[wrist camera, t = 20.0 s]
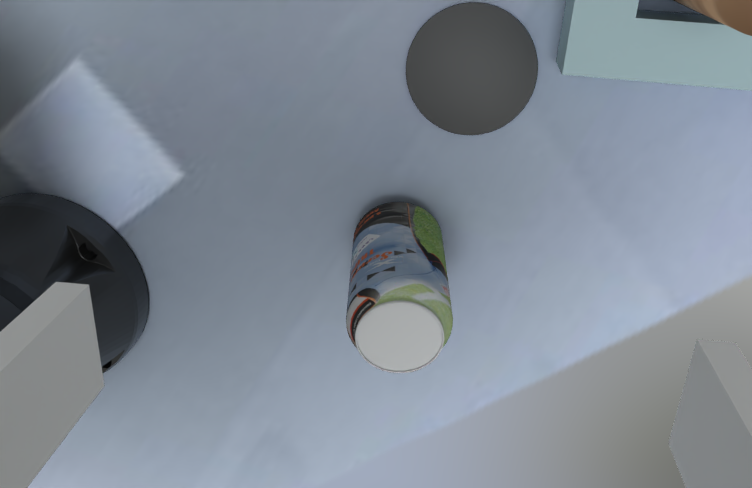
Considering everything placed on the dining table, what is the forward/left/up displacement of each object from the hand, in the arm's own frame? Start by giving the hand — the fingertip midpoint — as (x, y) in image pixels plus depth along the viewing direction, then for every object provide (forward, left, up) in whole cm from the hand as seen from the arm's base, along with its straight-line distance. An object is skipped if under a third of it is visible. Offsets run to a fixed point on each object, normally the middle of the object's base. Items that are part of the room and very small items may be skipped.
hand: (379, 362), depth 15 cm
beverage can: (-2, -12, -32) cm, 34 cm away
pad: (+1, 0, -31) cm, 31 cm away
